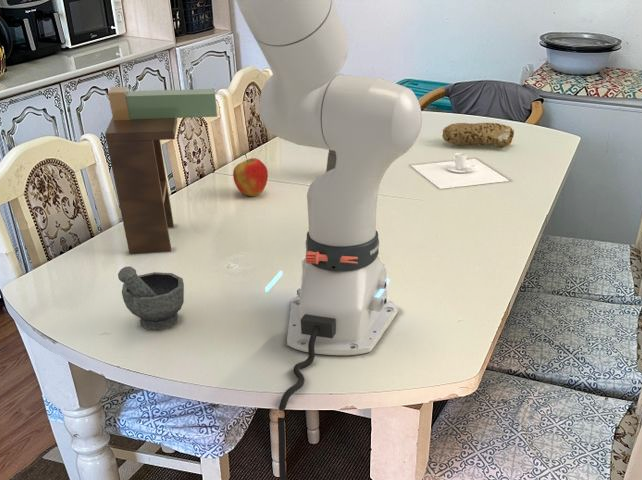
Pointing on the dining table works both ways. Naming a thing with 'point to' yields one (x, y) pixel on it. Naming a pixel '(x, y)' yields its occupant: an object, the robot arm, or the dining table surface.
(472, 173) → the teacup and saucer
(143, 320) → the mortar and pestle
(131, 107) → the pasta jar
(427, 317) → the dining table surface
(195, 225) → the dining table surface
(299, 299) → the robot arm
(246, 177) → the apple
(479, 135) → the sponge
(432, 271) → the dining table surface
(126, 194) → the rack
